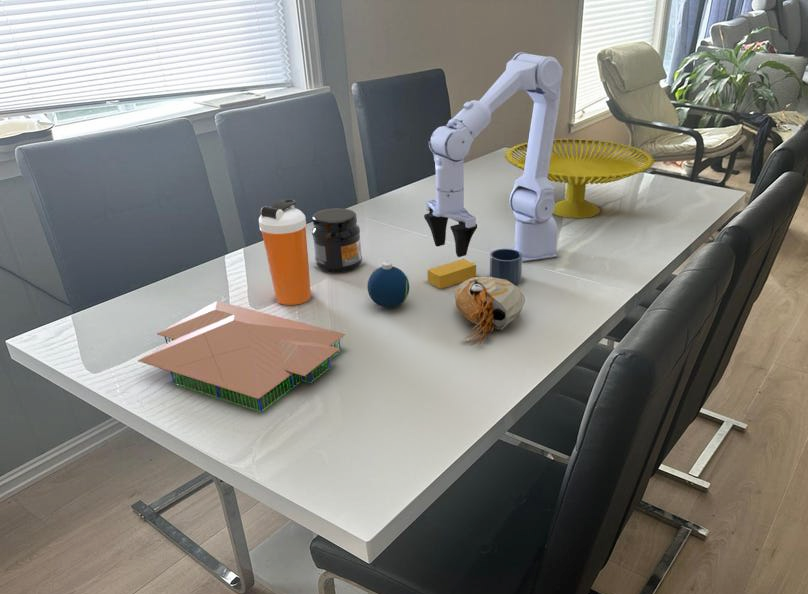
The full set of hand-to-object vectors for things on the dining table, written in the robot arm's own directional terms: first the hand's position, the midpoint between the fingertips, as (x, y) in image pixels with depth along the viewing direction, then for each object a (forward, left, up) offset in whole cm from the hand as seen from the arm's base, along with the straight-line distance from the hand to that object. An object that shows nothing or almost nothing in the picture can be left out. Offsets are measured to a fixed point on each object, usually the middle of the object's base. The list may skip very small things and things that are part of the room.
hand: (450, 250), depth 148 cm
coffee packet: (0, 0, -7) cm, 7 cm away
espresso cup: (-11, +4, -7) cm, 14 cm away
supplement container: (+22, -16, -7) cm, 28 cm away
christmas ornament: (+16, +8, -7) cm, 19 cm away
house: (+45, +22, -7) cm, 51 cm away
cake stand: (-47, -34, -7) cm, 58 cm away
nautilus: (+1, +22, -7) cm, 23 cm away
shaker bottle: (+34, -2, -7) cm, 35 cm away
